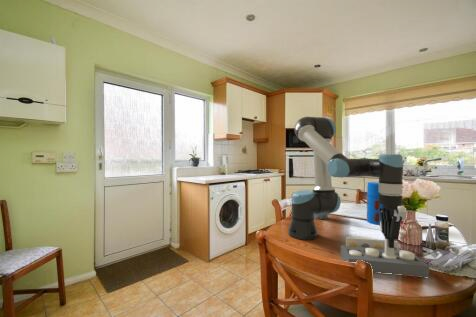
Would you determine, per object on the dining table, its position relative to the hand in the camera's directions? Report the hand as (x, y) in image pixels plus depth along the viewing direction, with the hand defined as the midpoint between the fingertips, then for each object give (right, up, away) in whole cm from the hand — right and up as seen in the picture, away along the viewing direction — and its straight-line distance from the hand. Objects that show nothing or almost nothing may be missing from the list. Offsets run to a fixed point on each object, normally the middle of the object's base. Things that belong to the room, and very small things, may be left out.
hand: (389, 254), depth 84 cm
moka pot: (-2, -3, +65) cm, 65 cm away
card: (-1, -5, +10) cm, 11 cm away
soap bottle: (+24, -4, +28) cm, 37 cm away
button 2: (-6, -2, +1) cm, 6 cm away
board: (-3, -5, +1) cm, 6 cm away
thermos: (+30, -4, +54) cm, 62 cm away
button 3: (0, -3, 0) cm, 3 cm away
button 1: (-12, -3, +3) cm, 12 cm away
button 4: (+6, -2, -1) cm, 6 cm away
